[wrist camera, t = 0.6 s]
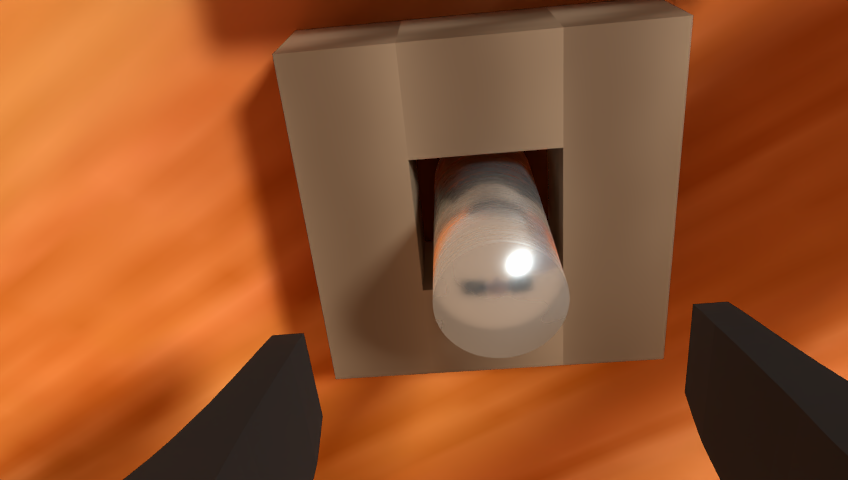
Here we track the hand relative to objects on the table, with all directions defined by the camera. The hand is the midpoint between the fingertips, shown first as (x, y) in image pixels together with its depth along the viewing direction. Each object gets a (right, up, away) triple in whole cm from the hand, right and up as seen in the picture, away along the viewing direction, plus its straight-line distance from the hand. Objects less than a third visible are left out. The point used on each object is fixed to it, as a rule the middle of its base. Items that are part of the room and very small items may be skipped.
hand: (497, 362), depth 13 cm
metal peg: (0, +4, +8) cm, 9 cm away
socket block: (0, +4, +8) cm, 9 cm away
